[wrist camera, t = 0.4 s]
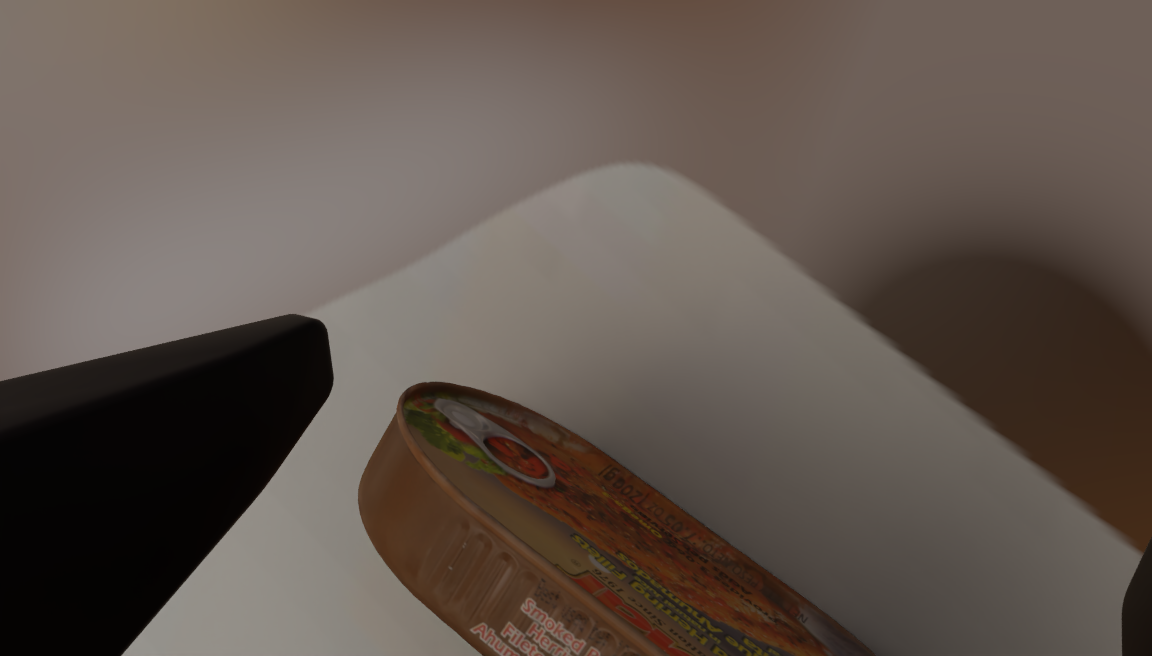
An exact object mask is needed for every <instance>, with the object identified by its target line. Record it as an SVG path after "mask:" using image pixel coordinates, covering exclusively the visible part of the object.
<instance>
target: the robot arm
mask: <svg viewBox="0 0 1152 656" xmlns="http://www.w3.org/2000/svg"><path fill="white" fill-rule="evenodd" d="M333 379H334V377H333V368H332V361H331V353H330V346H329V339H328V332H327V329H326V327H325V325H324V324H323V323H322V322H321V321H320V320H318V319H314V318H309V317H305V316H301V315H297V314H288V315H284V316H279V317H275V318H270V319H267V320H262V321H258V322H254V323H249V324H245V325H240V326H236V327H232V328H227V329H223V330H219V331H215V332H211V333H206V334H202V335H198V336H193V337H189V338H184V339H180V340H176V341H171V342H167V343H163V344H159V345H154V346H150V347H146V348H142V349H137V350H133V351H128V352H124V353H120V354H116V355H112V356H108V357H103V358H98V359H94V360H90V361H85V362H81V363H77V364H73V365H69V366H64V367H60V368H55V369H51V370H47V371H42V372H38V373H34V374H29V375H25V376H21V377H17V378H12V379H8V380H4V381H0V656H121V655H122V654H123V653H124V652H125V651H126V649H127V648H128V647H129V646H130V645H131V644H132V642H133V641H134V640H135V639H136V638H137V637H138V635H139V634H140V633H141V632H142V631H143V630H144V628H145V627H146V626H147V625H148V624H149V623H150V622H151V620H152V619H153V618H154V617H155V616H156V615H157V613H158V612H159V611H160V610H161V609H162V608H163V606H164V605H165V604H166V603H167V602H168V601H169V599H170V598H171V597H172V596H173V595H174V594H175V592H176V591H177V590H178V589H179V588H180V587H181V585H182V584H183V583H184V582H185V581H186V580H187V578H188V577H189V576H190V575H191V574H192V573H193V571H194V570H195V569H196V568H197V567H198V566H199V564H200V563H201V562H202V561H203V560H204V559H205V557H206V556H207V555H208V554H209V553H210V552H211V550H212V549H213V548H214V547H215V546H216V545H217V543H218V542H219V541H220V540H221V539H222V538H223V537H224V535H225V534H226V533H227V532H228V531H229V530H230V528H231V527H232V526H233V525H234V524H235V523H236V521H237V520H238V519H239V518H240V517H241V516H242V514H243V513H244V512H245V511H246V510H247V509H248V507H249V506H250V505H251V504H252V503H253V501H254V500H255V499H256V498H257V497H258V495H259V494H260V493H261V492H262V490H263V489H264V488H265V487H266V485H267V484H268V482H269V481H270V480H271V478H272V477H273V476H274V474H275V473H276V472H277V470H278V469H279V467H280V466H281V464H282V463H283V462H284V460H285V459H286V457H287V456H288V454H289V453H290V451H291V450H292V449H293V447H294V446H295V444H296V443H297V441H298V440H299V439H300V437H301V436H302V434H303V433H304V431H305V430H306V429H307V427H308V426H309V424H310V423H311V421H312V420H313V418H314V417H315V416H316V414H317V413H318V411H319V410H320V408H321V407H322V406H323V404H324V403H325V401H326V400H327V398H328V397H329V395H330V392H331V390H332V386H333ZM1122 656H1152V537H1151V540H1150V542H1149V543H1148V546H1147V548H1146V550H1145V552H1144V554H1143V556H1142V558H1141V561H1140V563H1139V565H1138V567H1137V569H1136V571H1135V573H1134V576H1133V578H1132V580H1131V582H1130V584H1129V586H1128V589H1127V591H1126V594H1125V597H1124V602H1123V607H1122Z"/></svg>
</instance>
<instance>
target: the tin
mask: <svg viewBox="0 0 1152 656" xmlns="http://www.w3.org/2000/svg"><path fill="white" fill-rule="evenodd" d="M358 504H359V510H360V515H361V518H362V522H363V524H364V527H365V529H366V532H367V534H368V536H369V538H370V540H371V542H372V543H373V545H374V547H375V548H376V550H377V552H378V553H379V555H380V556H381V558H382V559H383V560H384V562H385V563H386V565H387V566H388V567H389V568H390V569H391V571H392V572H393V573H394V574H395V576H396V577H397V578H398V579H399V580H400V582H401V583H402V584H403V585H404V586H405V587H406V588H407V589H408V590H409V591H410V592H411V593H412V594H413V595H414V596H415V597H416V598H417V599H418V600H420V601H421V602H422V603H423V604H424V605H425V606H426V607H427V608H429V609H430V610H431V611H432V612H433V613H434V614H436V615H437V616H438V617H439V618H440V619H441V620H442V621H443V622H444V623H446V624H447V625H448V626H449V627H451V628H452V629H453V630H454V631H456V632H457V633H458V634H459V635H460V636H461V637H462V638H463V639H464V640H465V641H467V642H468V643H469V644H470V645H471V646H472V647H473V648H475V649H476V650H477V651H478V652H479V653H481V654H482V655H483V656H876V655H875V654H874V653H873V652H872V651H871V650H870V649H868V648H867V647H866V646H865V645H864V644H863V643H861V642H860V641H859V640H858V639H857V638H856V637H854V636H853V635H852V634H851V633H849V632H848V631H847V630H845V629H844V628H843V627H841V626H840V625H839V624H838V623H837V622H836V621H835V620H833V619H832V618H831V617H829V616H828V615H827V614H825V613H824V612H823V611H821V610H820V609H819V608H817V607H816V606H815V605H813V604H812V603H810V602H809V601H808V600H806V599H805V598H804V597H802V596H801V595H800V594H798V593H797V592H795V591H794V590H793V589H791V588H790V587H788V586H787V585H786V584H785V583H783V582H782V581H780V580H779V579H777V578H776V577H775V576H773V575H772V574H771V573H769V572H768V571H766V570H765V569H763V568H762V567H761V566H759V565H758V564H756V563H755V562H754V561H752V560H751V559H750V558H749V557H747V556H746V555H744V554H743V553H742V552H740V551H739V550H737V549H736V548H734V547H733V546H731V545H730V544H729V543H727V542H726V541H725V540H724V539H722V538H721V537H719V536H718V535H716V534H715V533H714V532H712V531H711V530H710V529H708V528H707V527H705V526H704V525H703V524H701V523H700V522H699V521H697V520H696V519H694V518H693V517H692V516H690V515H689V514H688V513H686V512H685V511H683V510H682V509H681V508H679V507H678V506H677V505H675V504H674V503H673V502H671V501H670V500H669V499H667V498H666V497H665V496H663V495H662V494H660V493H659V492H658V491H656V490H655V489H654V488H652V487H651V486H649V485H648V484H647V483H645V482H644V481H642V480H641V479H640V478H638V477H637V476H635V475H634V474H633V473H631V472H630V471H629V470H627V469H626V468H625V467H623V466H622V465H620V464H619V463H618V462H616V461H615V460H613V459H612V458H611V457H609V456H608V455H607V454H605V453H604V452H602V451H601V450H599V449H598V448H596V447H595V446H593V445H592V444H591V443H589V442H587V441H586V440H584V439H583V438H581V437H580V436H578V435H577V434H574V433H573V432H571V431H569V430H567V429H566V428H564V427H562V426H560V425H559V424H557V423H555V422H553V421H551V420H550V419H548V418H546V417H544V416H542V415H541V414H539V413H537V412H535V411H532V410H530V409H528V408H526V407H524V406H522V405H520V404H518V403H515V402H512V401H509V400H507V399H505V398H502V397H500V396H497V395H493V394H490V393H488V392H485V391H482V390H478V389H474V388H471V387H466V386H461V385H456V384H452V383H445V382H428V383H427V382H424V383H419V384H416V385H413V386H411V387H410V388H407V390H406V391H405V392H404V393H403V394H402V395H401V396H400V398H399V401H398V405H397V412H396V414H395V415H394V417H393V419H392V421H391V423H390V424H389V426H388V428H387V430H386V431H385V433H384V435H383V437H382V438H381V440H380V442H379V443H378V445H377V447H376V449H375V451H374V452H373V454H372V456H371V458H370V460H369V462H368V464H367V466H366V468H365V471H364V473H363V475H362V478H361V481H360V485H359V489H358Z"/></svg>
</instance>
